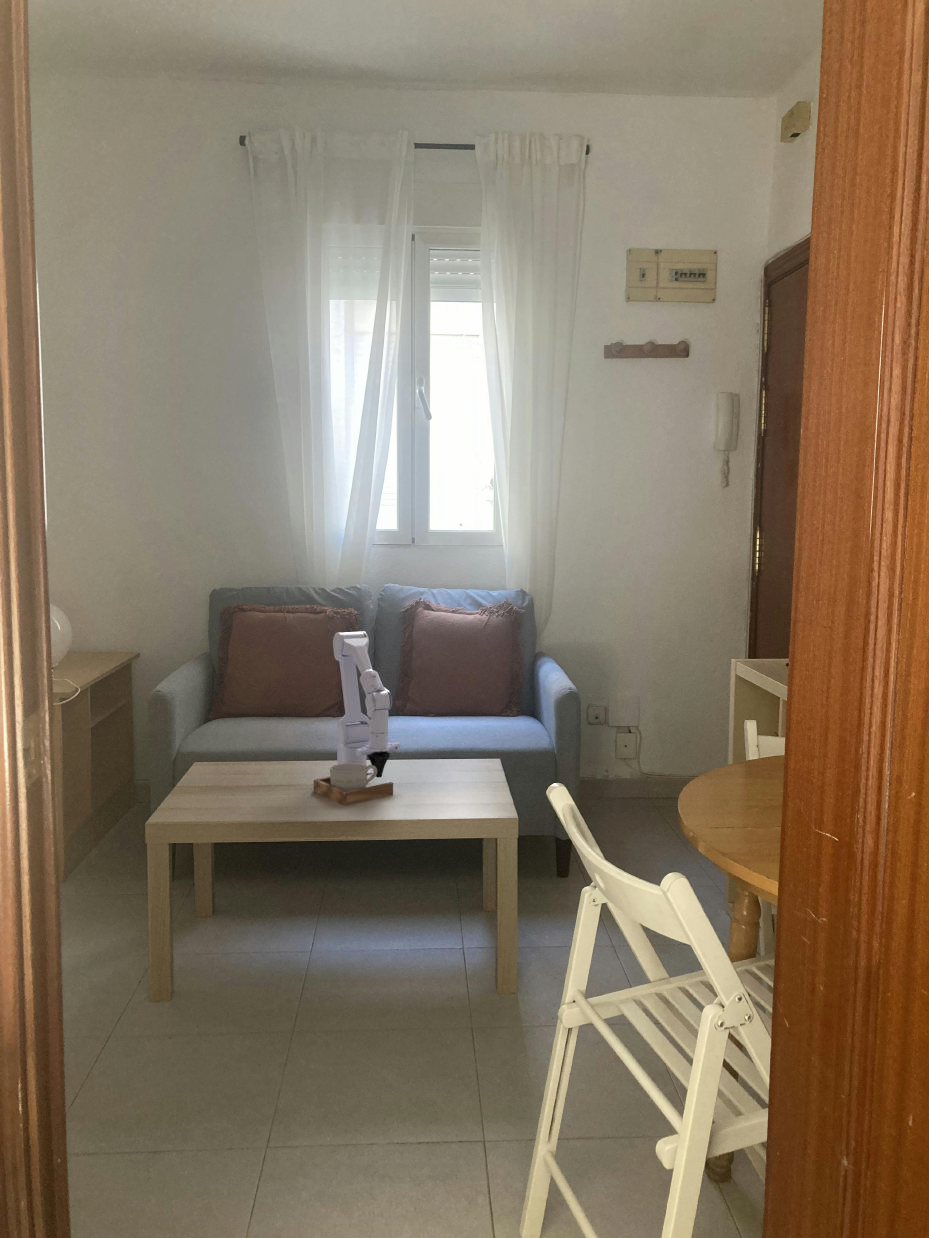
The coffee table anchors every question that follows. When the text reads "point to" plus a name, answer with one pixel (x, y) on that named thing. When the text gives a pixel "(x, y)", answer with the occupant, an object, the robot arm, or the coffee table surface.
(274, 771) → the coffee table surface
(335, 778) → the teacup
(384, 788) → the cradle
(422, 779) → the coffee table surface
